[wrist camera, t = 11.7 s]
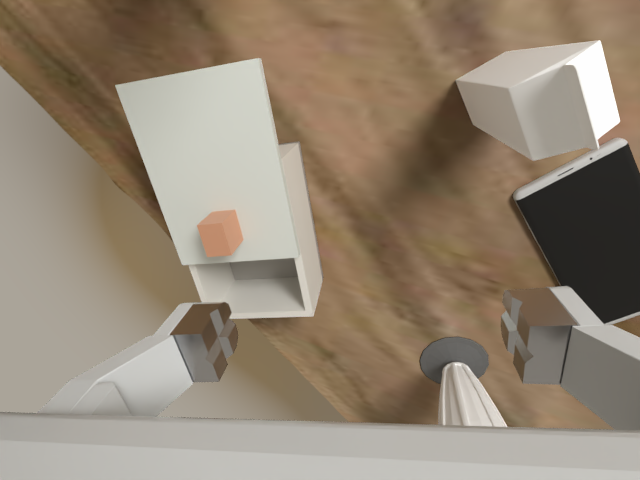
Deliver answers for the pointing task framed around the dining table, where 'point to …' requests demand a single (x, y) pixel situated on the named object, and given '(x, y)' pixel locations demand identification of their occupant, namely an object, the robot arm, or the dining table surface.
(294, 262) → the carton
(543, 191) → the smartphone
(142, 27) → the dining table surface
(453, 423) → the cup
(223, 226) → the lid
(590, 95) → the milk
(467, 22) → the dining table surface
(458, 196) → the dining table surface
